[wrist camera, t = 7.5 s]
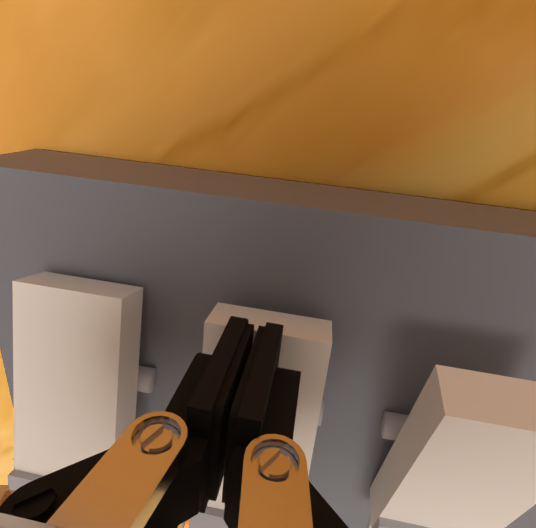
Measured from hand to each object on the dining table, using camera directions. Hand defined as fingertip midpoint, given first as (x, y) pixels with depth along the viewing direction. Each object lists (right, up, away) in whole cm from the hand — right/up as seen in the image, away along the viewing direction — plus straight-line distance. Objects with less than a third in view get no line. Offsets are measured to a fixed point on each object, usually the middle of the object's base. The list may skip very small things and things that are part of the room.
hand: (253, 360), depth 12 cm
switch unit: (+1, -1, +7) cm, 8 cm away
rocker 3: (+7, -4, +1) cm, 8 cm away
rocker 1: (-7, -2, +3) cm, 8 cm away
